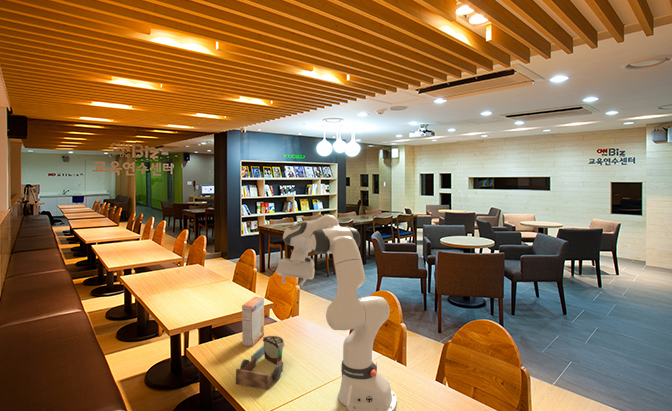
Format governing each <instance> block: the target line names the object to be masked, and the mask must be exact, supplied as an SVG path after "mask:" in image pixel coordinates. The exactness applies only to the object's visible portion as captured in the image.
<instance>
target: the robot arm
mask: <svg viewBox="0 0 672 411" xmlns="http://www.w3.org/2000/svg"><path fill="white" fill-rule="evenodd" d="M282 240H283V242H284V244H285V245H287V246H291V247H293V249H292V252H291V255H290V258H284V257H282V258H281V259H279V260H278V265H277V267H276V270H275V272H276V274H277V275H278V276H281V283H282V284H286V282H287V280H286V279H285V278H286V277H291V278H292V277H293V278H300V279H302V280H301V281H299V285H298V286H299V287H303V286H304V283H305V282H306V281H307V280H314V277H315V271H316V269H315V261H314V259H313V258H310V257H308V256H309V255H308V254H309V253H312V252H313V253H315V254H319V255H327V254H332V256H333V264H334V269H335V270H334V271H335V275H336V276H335V277H336V286H337V288H336V293H335V295H334V298H333V299H332V301H331V302H330V303H329V305H328V306H327V309H326V311H325V319H326V323H327V325H328V326H329V327H330V328H331V330H333V331H349V330H350V331H351V330H352V331H351V333H349V334H348V335H347V336H346V337H345V338H344V340H343V346H342V360H341V365H340V367H341V369H340V370H341V383H340V388H339V391H338V393H337V394H338V395H337V399H338V400H339V402H340V403H341V404H342V405H343V406H345V407H346V410H347V411H395V410H396V408H397V406H398V404H397V403H398V397H397V394H396V392H395V391H393V390H392V387H391V385H390V382H389V380H388V379H386V378H385V377H384V376H383V375H382V374H380V373H379V372H378V367H377V366H378V363H377V362H375V363H374V361H372V360H373V348H374V342H375V339H376V336H377V333H378V332H379V330H380V328H381V327H382V325H383V324H384V323H385V322H386V321H388V319H389V316H390V306H389V302H388V301H387V300H386V299H385V298H384V297H382V296H376V295H375V296H374V295H369V296H362V297H358V295H357V291H358V289H359V288H361V286H363V285H364V283H365V281H366V273H365V269H364V264H363V259H362V257H361V253H360V252H361V251H360V250H359V248H360V245H361V235H360V232H359V230H357V229H356V228H354V227H350V226H348V225H346V224H345V225H344V226H340V223H339V220H338V219H337V218H336V216H334V215H331V214H325V215H322V216H320V217H319V218H317V219H315V220H312V221H303V222H300V223H297V224H295V225H290V226H288V227H286V229H285V230H284V232H283V235H282Z"/></svg>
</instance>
